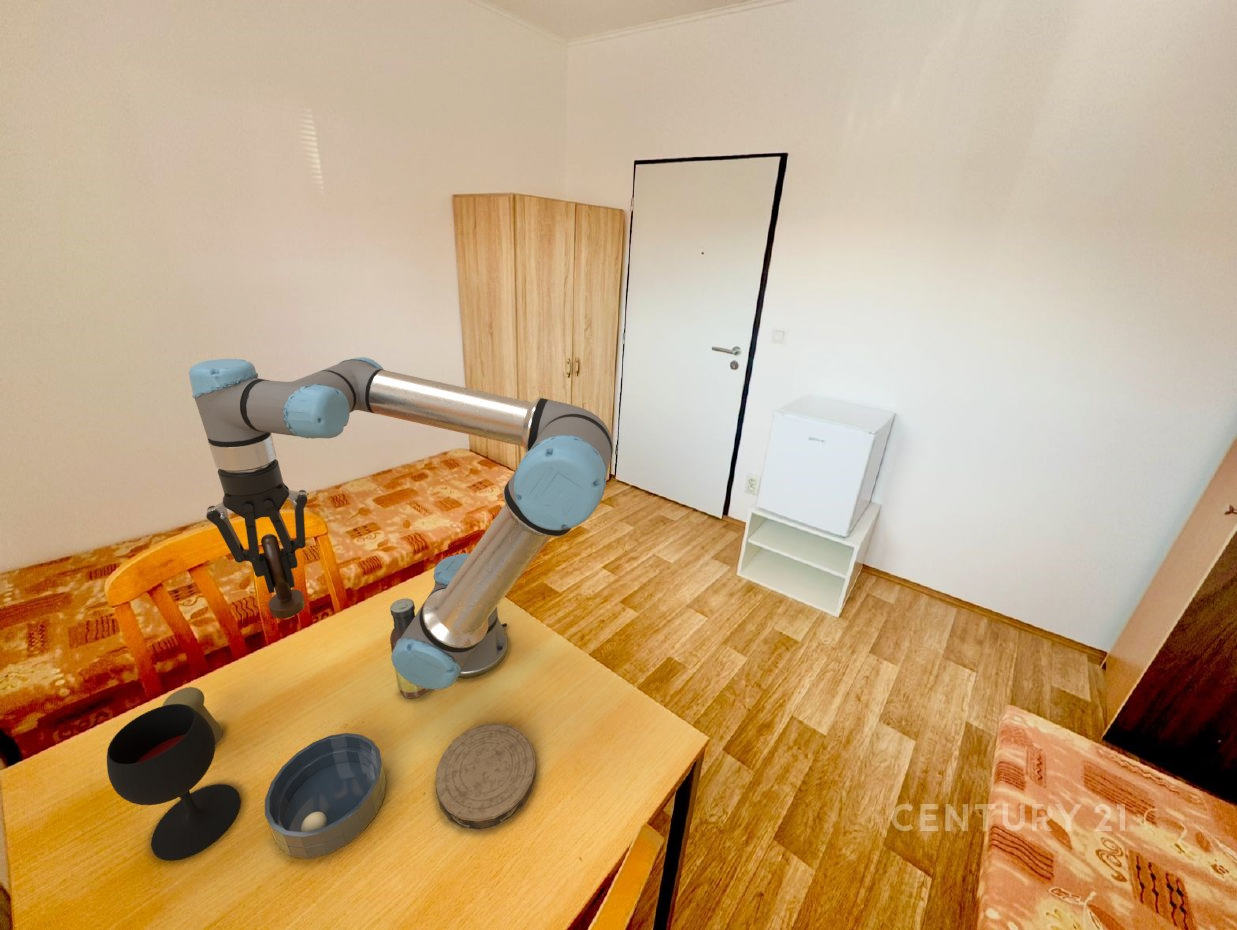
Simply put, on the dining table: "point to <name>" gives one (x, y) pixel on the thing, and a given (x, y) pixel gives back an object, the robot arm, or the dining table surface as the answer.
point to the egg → (314, 822)
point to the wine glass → (173, 778)
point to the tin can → (485, 776)
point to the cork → (195, 706)
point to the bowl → (326, 794)
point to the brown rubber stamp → (280, 582)
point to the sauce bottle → (402, 619)
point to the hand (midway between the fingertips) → (281, 585)
